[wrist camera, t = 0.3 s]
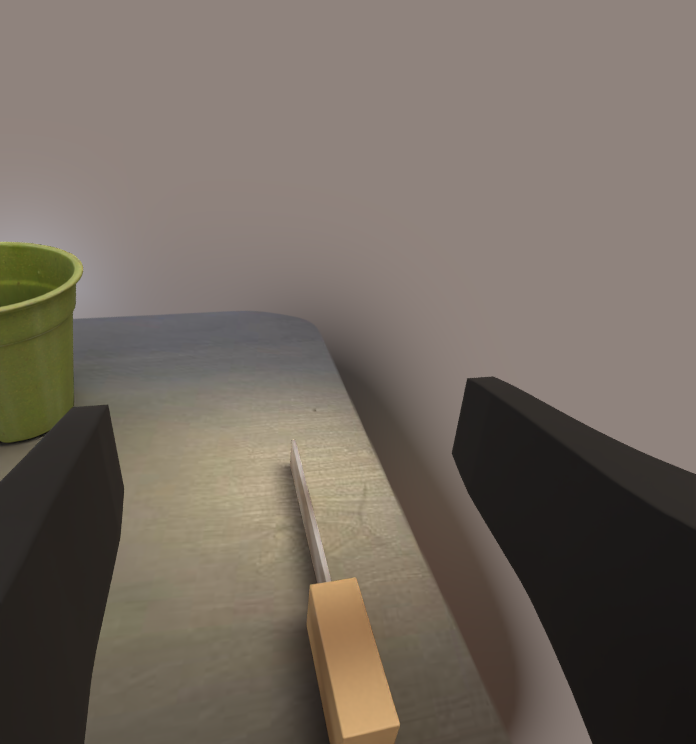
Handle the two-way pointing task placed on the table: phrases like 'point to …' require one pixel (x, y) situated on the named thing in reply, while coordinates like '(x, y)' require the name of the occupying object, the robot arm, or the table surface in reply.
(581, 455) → the robot arm
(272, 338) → the table surface
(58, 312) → the plant pot
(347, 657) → the cake knife
